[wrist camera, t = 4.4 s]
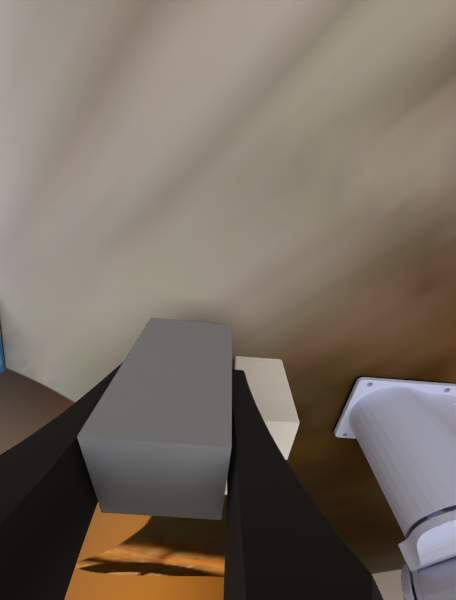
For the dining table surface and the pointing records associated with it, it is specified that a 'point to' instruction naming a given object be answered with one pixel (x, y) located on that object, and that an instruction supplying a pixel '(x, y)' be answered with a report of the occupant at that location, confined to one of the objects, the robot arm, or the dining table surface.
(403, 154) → the dining table surface
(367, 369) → the dining table surface
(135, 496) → the grey rectangular prism
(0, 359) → the ink box
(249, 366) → the off-white pillar
